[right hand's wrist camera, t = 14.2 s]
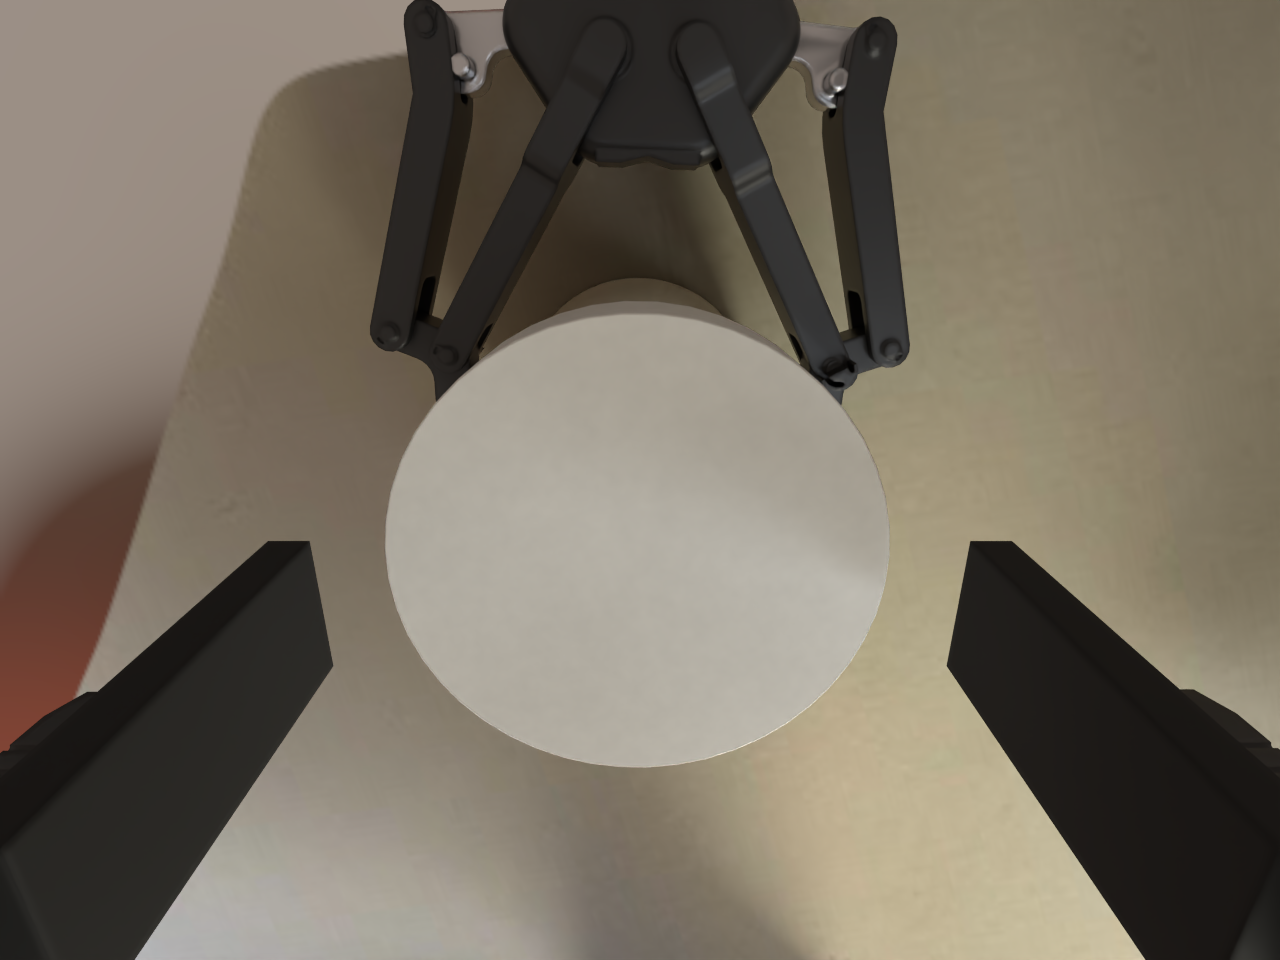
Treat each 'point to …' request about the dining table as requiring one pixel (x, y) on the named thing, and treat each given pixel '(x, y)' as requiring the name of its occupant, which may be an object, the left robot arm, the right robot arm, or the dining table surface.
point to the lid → (637, 536)
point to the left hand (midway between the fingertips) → (634, 546)
